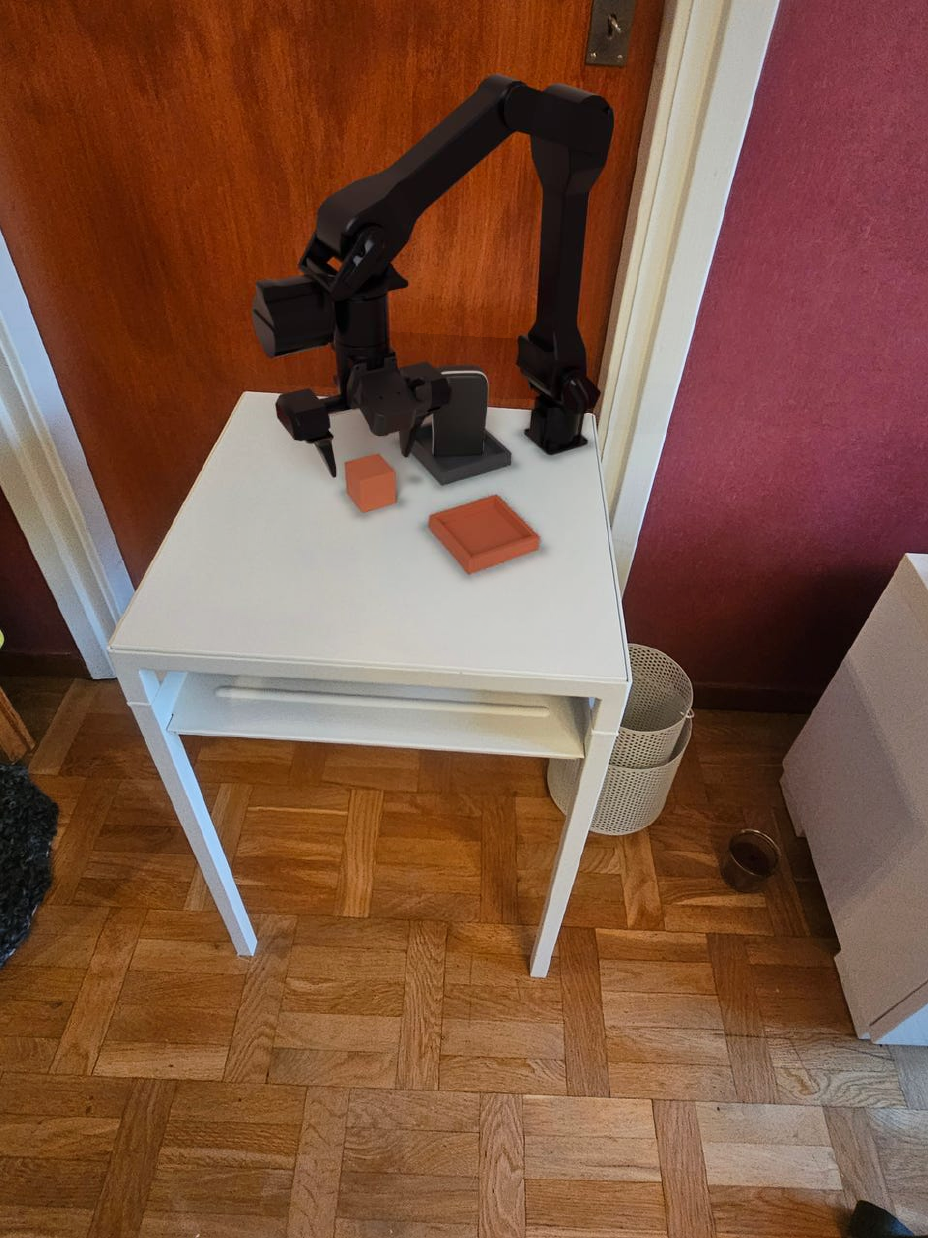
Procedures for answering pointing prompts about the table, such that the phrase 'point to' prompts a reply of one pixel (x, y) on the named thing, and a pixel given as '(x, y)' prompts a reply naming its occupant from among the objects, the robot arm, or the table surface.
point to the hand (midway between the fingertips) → (369, 465)
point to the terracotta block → (370, 482)
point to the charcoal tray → (459, 458)
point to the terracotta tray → (483, 533)
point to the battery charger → (462, 413)
